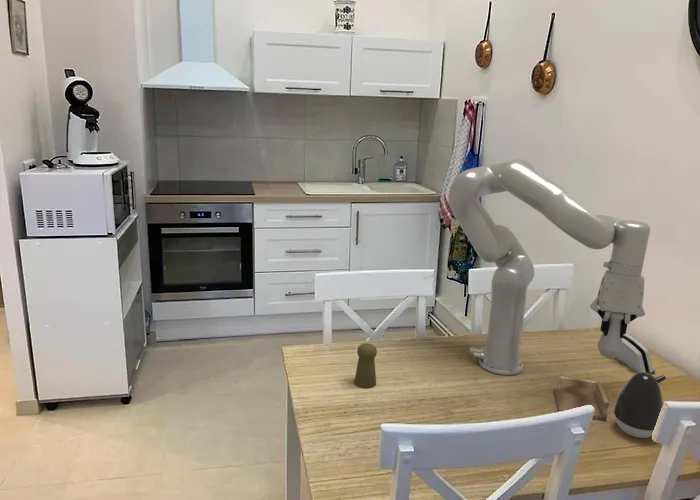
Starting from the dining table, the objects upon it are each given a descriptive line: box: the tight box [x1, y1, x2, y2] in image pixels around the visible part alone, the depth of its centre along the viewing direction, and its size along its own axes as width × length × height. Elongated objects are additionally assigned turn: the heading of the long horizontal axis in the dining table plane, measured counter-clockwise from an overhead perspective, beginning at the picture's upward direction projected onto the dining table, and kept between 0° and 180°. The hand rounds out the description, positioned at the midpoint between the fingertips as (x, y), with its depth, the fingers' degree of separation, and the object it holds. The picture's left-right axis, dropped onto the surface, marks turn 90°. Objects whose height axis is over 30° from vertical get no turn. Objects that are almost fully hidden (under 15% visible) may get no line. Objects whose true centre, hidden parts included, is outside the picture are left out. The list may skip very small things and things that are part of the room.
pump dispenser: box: [613, 372, 667, 439], centre depth 127 cm, size 10×10×15 cm
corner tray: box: [553, 375, 610, 422], centre depth 139 cm, size 11×11×5 cm
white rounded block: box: [616, 333, 657, 374], centre depth 165 cm, size 17×5×10 cm, turn 13°
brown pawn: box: [353, 342, 378, 390], centre depth 145 cm, size 6×6×11 cm
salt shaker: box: [597, 312, 625, 359], centre depth 143 cm, size 6×6×13 cm
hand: (612, 334), depth 143 cm, fingers closed on salt shaker, 3 cm apart
